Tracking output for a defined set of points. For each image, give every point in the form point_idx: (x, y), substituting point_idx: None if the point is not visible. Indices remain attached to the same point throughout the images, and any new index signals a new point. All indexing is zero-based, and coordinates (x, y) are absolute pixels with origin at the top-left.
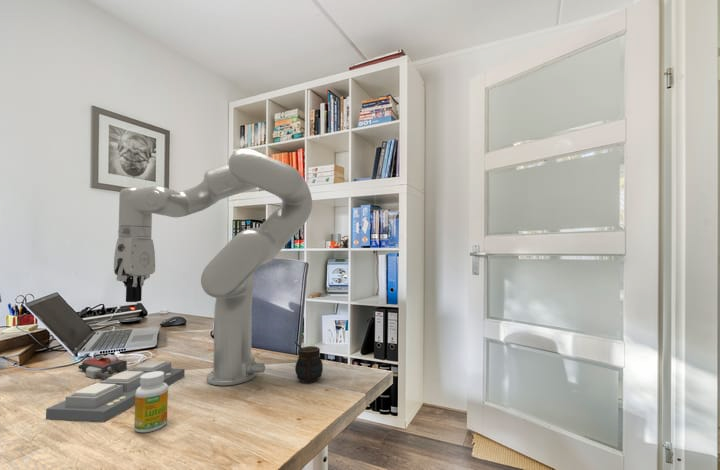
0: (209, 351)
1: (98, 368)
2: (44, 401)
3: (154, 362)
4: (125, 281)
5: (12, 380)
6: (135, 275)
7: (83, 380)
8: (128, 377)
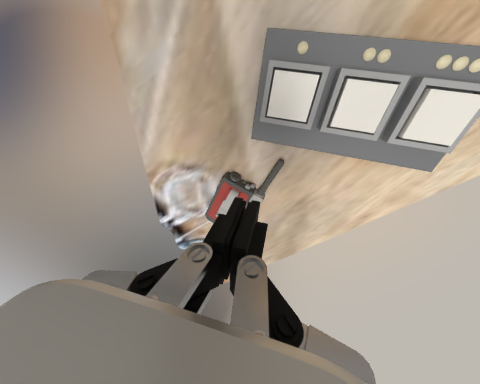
0: (123, 72)
1: (251, 199)
2: (342, 204)
3: (281, 94)
4: (309, 327)
5: None
6: (299, 349)
7: (269, 202)
8: (385, 89)
